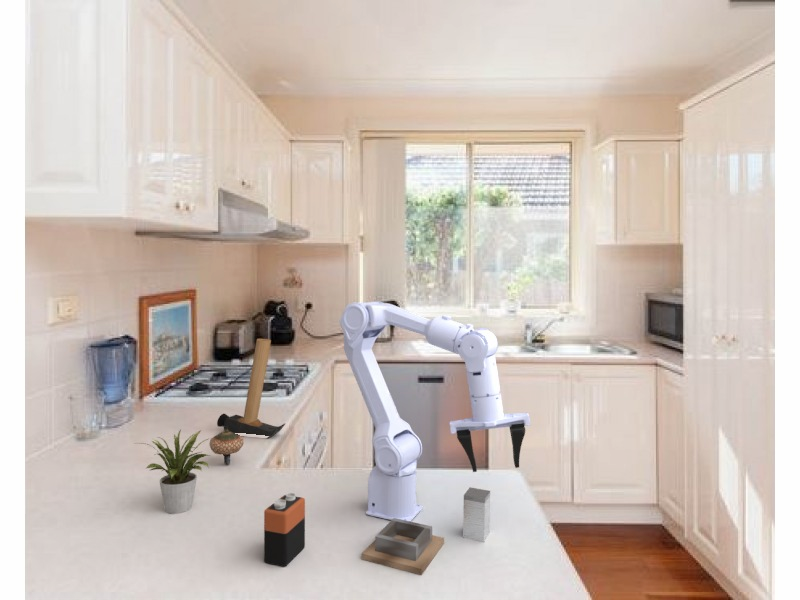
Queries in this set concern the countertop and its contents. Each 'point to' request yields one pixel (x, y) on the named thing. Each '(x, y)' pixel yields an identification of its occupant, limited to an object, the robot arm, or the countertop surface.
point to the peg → (476, 514)
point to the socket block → (404, 546)
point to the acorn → (226, 444)
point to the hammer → (252, 399)
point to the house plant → (178, 474)
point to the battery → (284, 529)
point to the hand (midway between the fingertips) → (495, 468)
